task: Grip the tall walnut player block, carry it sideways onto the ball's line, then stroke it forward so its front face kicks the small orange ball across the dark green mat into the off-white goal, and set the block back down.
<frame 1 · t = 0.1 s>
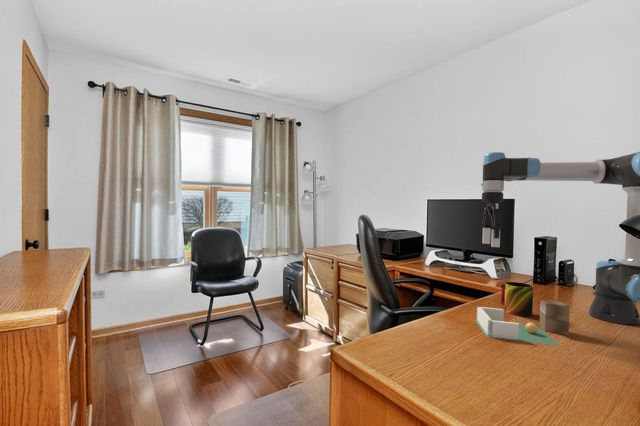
hand: (490, 245, 127), 28 cm above the table, fingers open, 13 cm apart
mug: (512, 313, 131), on the table
player block: (553, 331, 111), on the table
mat: (513, 332, 109), on the table
ball: (531, 327, 107), point 2 cm above the table, touching mat
goal: (498, 329, 110), resting on mat
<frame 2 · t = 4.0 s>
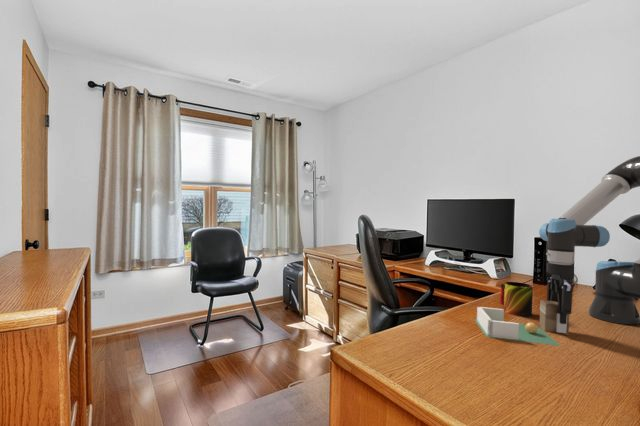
hand: (557, 329, 111), 1 cm above the table, fingers closed on player block, 4 cm apart
player block: (553, 331, 111), on the table, touching gripper
everything else where it was.
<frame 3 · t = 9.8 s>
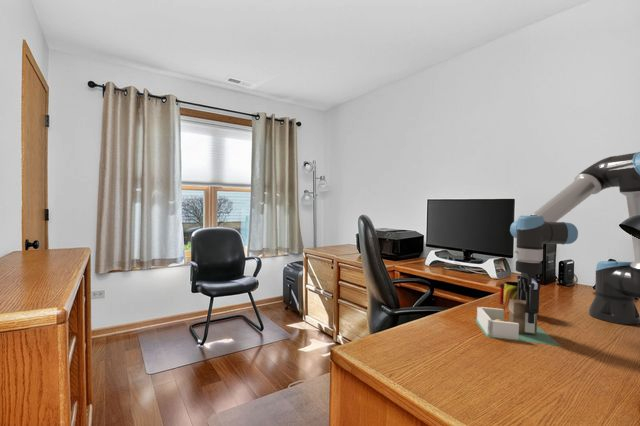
hand: (526, 329, 108), 1 cm above the table, fingers closed on player block, 4 cm apart
player block: (522, 330, 108), point 1 cm above the table, touching gripper
ball: (498, 324, 110), point 2 cm above the table, tilted 33°, touching mat
everything else where it was.
when the fingers open (2 cm above the table, at t = 10.5 s): player block stays where it is, resting on mat.
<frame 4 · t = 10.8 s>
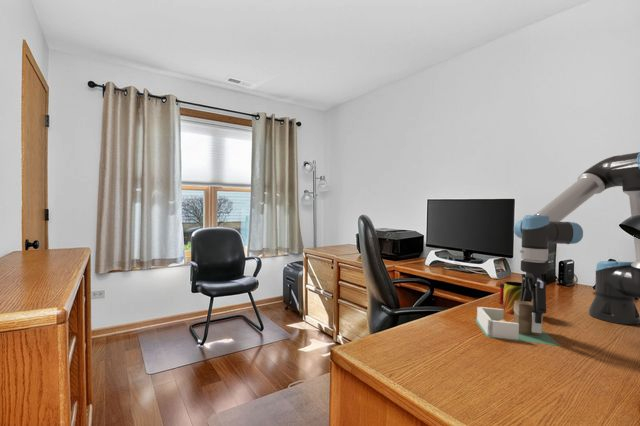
hand: (531, 327, 107), 2 cm above the table, fingers open, 8 cm apart
player block: (527, 332, 108), resting on mat
ball: (503, 325, 109), point 2 cm above the table, tilted 81°, touching mat
everything else where it was.
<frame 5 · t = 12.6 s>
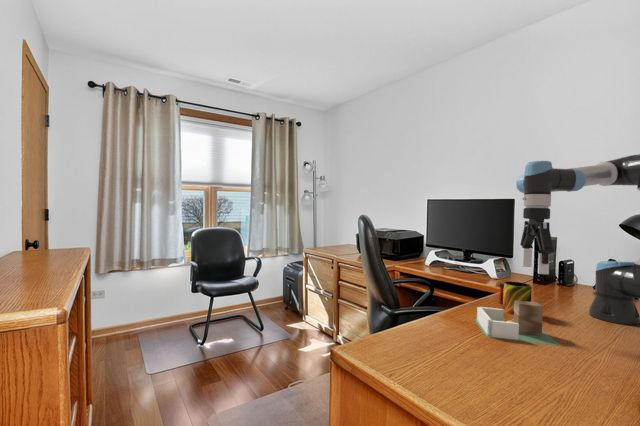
hand: (534, 270, 107), 22 cm above the table, fingers open, 13 cm apart
ball: (510, 325, 109), point 2 cm above the table, tilted 152°, touching mat
everything else where it was.
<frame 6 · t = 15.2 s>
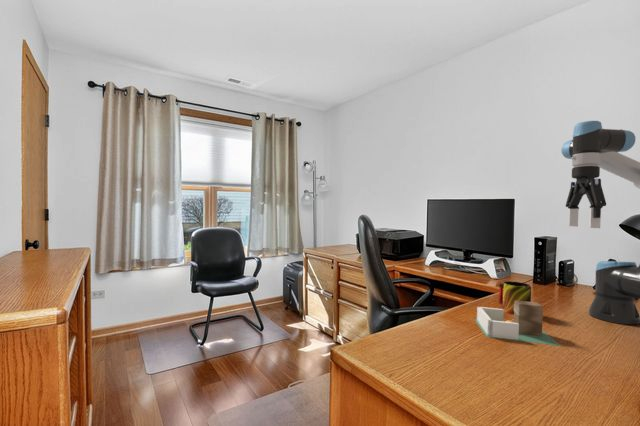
hand: (583, 227, 111), 37 cm above the table, fingers open, 13 cm apart
ball: (509, 325, 109), point 2 cm above the table, tilted 141°, touching mat
at the end: ball inside the target area on the goal (3.2 cm from its centre), point 1.7 cm above the goal's base; the gripper is holding nothing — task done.
